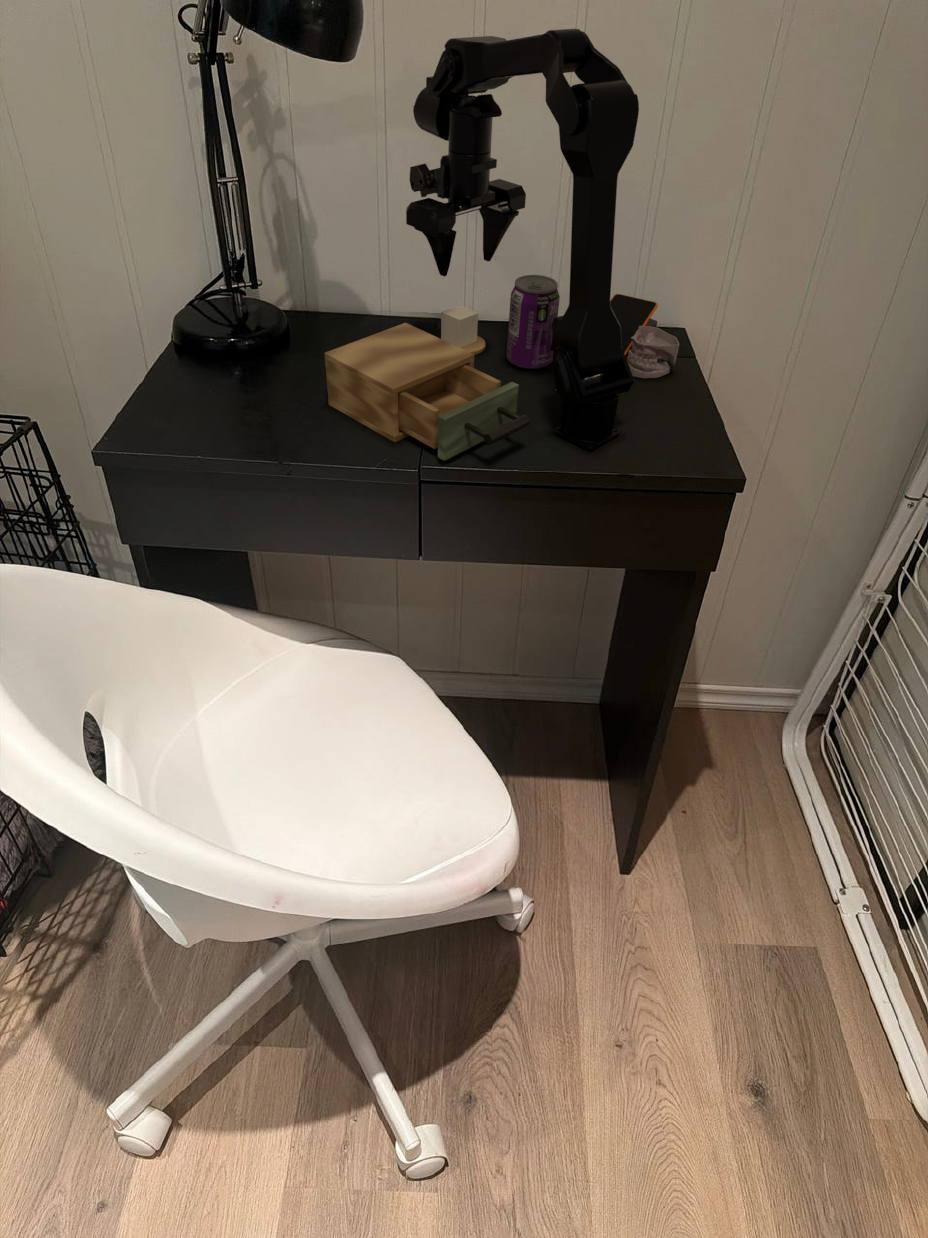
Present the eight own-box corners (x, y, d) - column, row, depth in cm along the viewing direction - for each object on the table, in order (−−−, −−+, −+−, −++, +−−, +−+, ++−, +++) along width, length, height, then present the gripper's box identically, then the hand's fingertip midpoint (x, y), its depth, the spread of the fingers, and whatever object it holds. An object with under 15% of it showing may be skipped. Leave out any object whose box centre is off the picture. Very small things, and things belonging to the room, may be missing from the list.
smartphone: (659, 305, 131) (659, 301, 130) (611, 379, 125) (611, 375, 124) (614, 295, 134) (614, 291, 133) (565, 367, 128) (565, 363, 127)
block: (477, 341, 132) (478, 312, 129) (459, 348, 130) (459, 319, 127) (458, 332, 134) (459, 304, 131) (440, 339, 132) (441, 311, 129)
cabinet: (472, 405, 118) (474, 354, 113) (394, 442, 110) (393, 388, 105) (406, 372, 125) (405, 322, 119) (328, 404, 117) (324, 352, 111)
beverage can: (549, 375, 125) (558, 294, 117) (502, 369, 126) (507, 289, 118) (555, 354, 131) (563, 276, 122) (510, 349, 131) (515, 271, 123)
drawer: (543, 438, 110) (548, 398, 106) (472, 477, 103) (474, 435, 99) (449, 391, 119) (450, 352, 115) (377, 423, 111) (376, 383, 108)
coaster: (494, 346, 132) (494, 343, 131) (463, 360, 128) (463, 356, 128) (462, 332, 135) (462, 328, 135) (431, 345, 132) (431, 341, 131)
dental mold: (658, 353, 120) (652, 385, 124) (688, 340, 124) (682, 372, 127) (616, 335, 125) (611, 367, 128) (646, 323, 128) (641, 354, 131)
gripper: (474, 127, 122) (470, 239, 133) (377, 147, 112) (381, 267, 123) (532, 143, 117) (523, 258, 127) (435, 166, 107) (434, 290, 117)
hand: (465, 267), depth 124 cm, fingers open, 9 cm apart
